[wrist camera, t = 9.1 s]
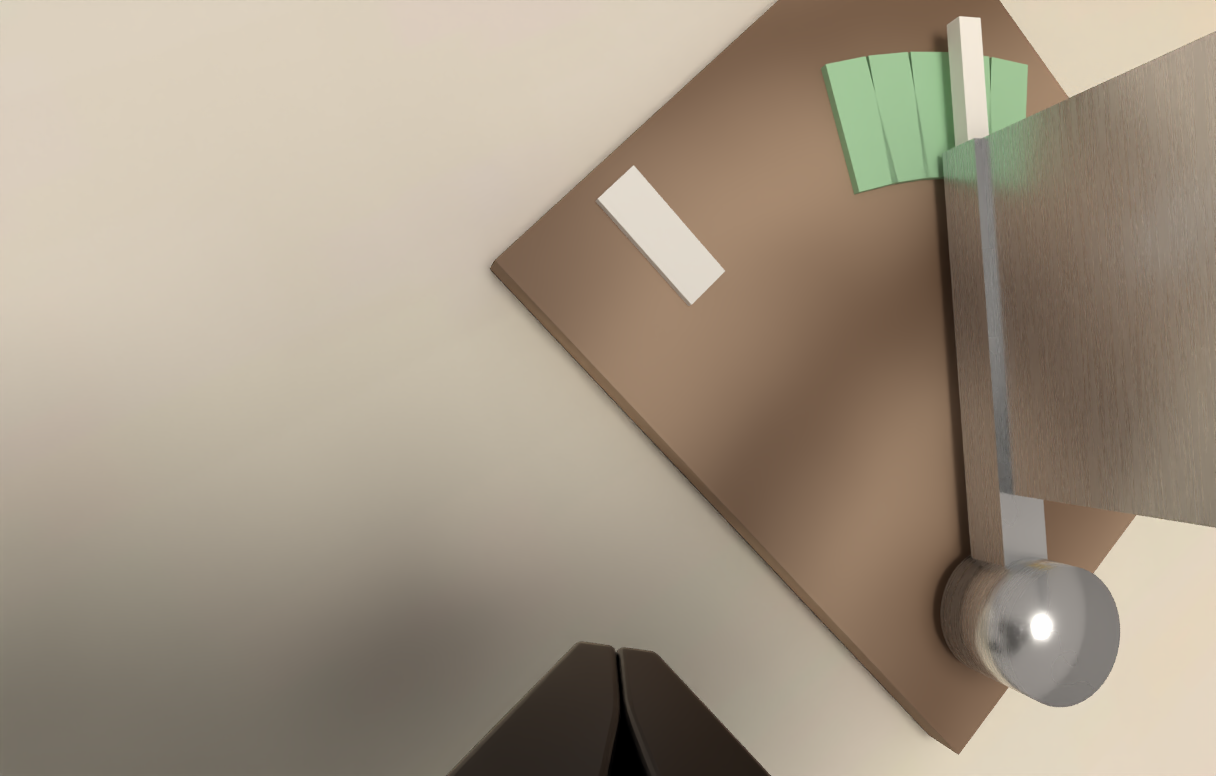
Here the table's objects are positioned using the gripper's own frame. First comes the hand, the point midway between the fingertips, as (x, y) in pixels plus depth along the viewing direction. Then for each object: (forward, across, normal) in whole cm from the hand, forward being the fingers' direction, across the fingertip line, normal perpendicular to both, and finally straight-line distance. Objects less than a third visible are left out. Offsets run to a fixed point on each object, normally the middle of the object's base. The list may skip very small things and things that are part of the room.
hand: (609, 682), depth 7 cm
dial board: (+12, +7, +2) cm, 14 cm away
